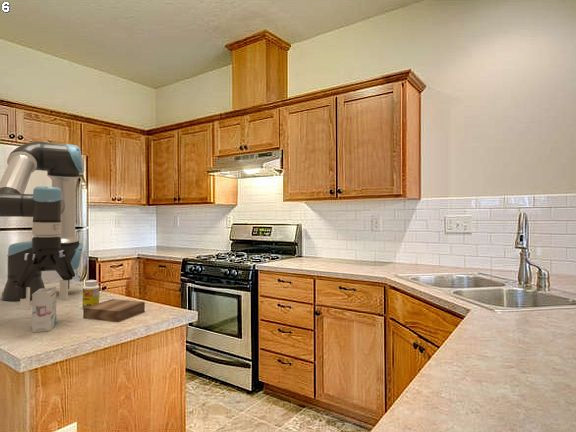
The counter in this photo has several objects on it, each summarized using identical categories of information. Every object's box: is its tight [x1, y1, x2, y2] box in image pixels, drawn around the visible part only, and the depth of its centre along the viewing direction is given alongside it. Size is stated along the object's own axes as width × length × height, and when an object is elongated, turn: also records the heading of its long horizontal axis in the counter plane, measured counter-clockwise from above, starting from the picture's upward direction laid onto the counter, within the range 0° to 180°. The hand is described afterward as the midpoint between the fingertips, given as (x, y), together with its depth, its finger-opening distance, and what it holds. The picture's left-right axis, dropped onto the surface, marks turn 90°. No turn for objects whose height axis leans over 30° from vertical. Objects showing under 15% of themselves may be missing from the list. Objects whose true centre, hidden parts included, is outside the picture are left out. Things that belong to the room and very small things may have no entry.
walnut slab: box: [82, 298, 146, 323], centre depth 133 cm, size 14×14×4 cm
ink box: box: [31, 287, 57, 333], centre depth 117 cm, size 9×5×12 cm, turn 21°
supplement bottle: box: [82, 279, 100, 308], centre depth 141 cm, size 6×6×10 cm
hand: (45, 304), depth 116 cm, fingers open, 13 cm apart
